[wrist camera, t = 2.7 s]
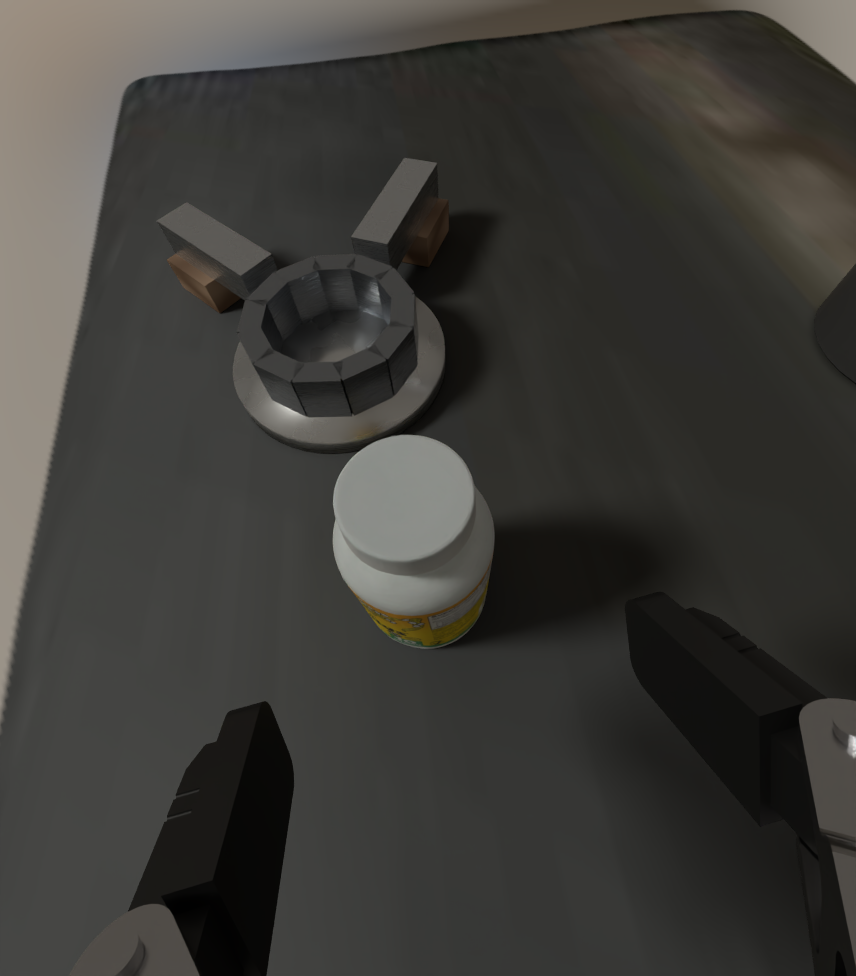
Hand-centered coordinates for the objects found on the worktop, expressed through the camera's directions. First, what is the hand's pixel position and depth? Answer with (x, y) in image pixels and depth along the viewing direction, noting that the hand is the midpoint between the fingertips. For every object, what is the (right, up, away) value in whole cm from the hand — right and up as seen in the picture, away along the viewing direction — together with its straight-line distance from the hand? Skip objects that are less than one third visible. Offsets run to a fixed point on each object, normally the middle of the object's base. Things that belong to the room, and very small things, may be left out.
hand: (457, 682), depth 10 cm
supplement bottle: (-1, 0, +11) cm, 12 cm away
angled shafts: (-8, +20, +20) cm, 30 cm away
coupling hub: (-6, +11, +18) cm, 22 cm away
